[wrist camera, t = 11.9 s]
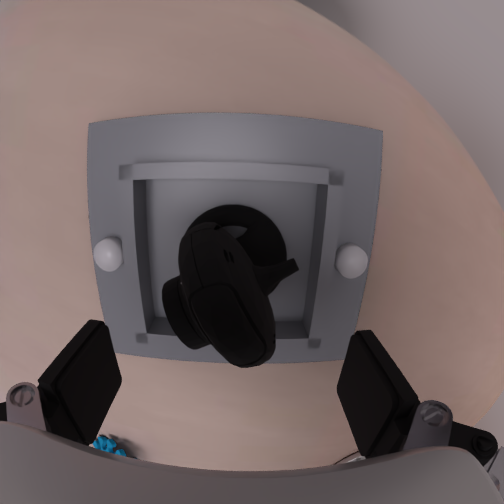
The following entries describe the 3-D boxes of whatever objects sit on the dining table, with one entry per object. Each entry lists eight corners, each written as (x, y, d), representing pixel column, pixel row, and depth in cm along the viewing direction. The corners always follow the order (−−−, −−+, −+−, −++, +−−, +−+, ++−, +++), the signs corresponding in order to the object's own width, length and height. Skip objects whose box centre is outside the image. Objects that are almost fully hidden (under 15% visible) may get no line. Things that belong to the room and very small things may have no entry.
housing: (376, 132, 18) (399, 128, 15) (343, 352, 24) (355, 376, 21) (94, 124, 17) (71, 120, 14) (116, 346, 23) (103, 368, 20)
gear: (113, 436, 26) (139, 500, 22) (145, 430, 31) (168, 489, 27) (79, 437, 29) (99, 491, 24) (107, 434, 34) (125, 484, 29)
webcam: (162, 231, 19) (100, 292, 10) (257, 183, 18) (275, 203, 9) (213, 317, 21) (199, 415, 12) (301, 278, 21) (344, 364, 11)
